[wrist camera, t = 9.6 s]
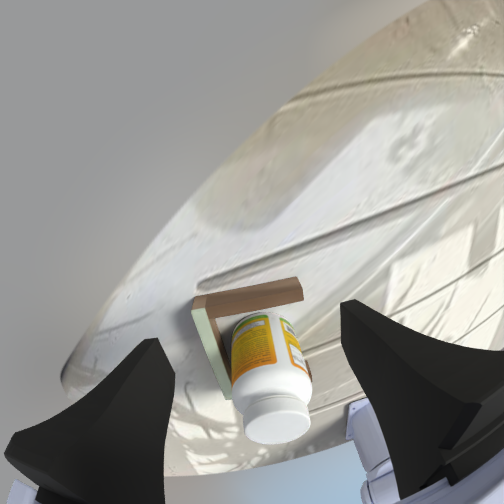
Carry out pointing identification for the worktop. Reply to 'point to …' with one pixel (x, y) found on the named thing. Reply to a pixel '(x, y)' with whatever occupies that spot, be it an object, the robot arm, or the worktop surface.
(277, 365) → the supplement bottle
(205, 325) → the dock
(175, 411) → the worktop surface
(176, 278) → the worktop surface
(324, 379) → the worktop surface
